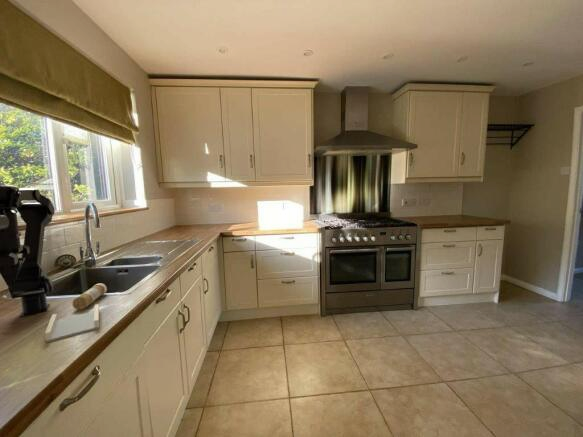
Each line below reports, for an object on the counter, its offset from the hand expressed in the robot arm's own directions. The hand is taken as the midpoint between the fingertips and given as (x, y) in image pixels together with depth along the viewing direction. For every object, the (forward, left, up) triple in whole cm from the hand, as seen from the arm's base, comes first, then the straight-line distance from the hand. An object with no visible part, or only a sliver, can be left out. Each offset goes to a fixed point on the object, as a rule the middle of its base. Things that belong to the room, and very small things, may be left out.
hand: (10, 285), depth 70 cm
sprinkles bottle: (-3, +14, -11) cm, 18 cm away
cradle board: (+9, +13, -13) cm, 21 cm away
